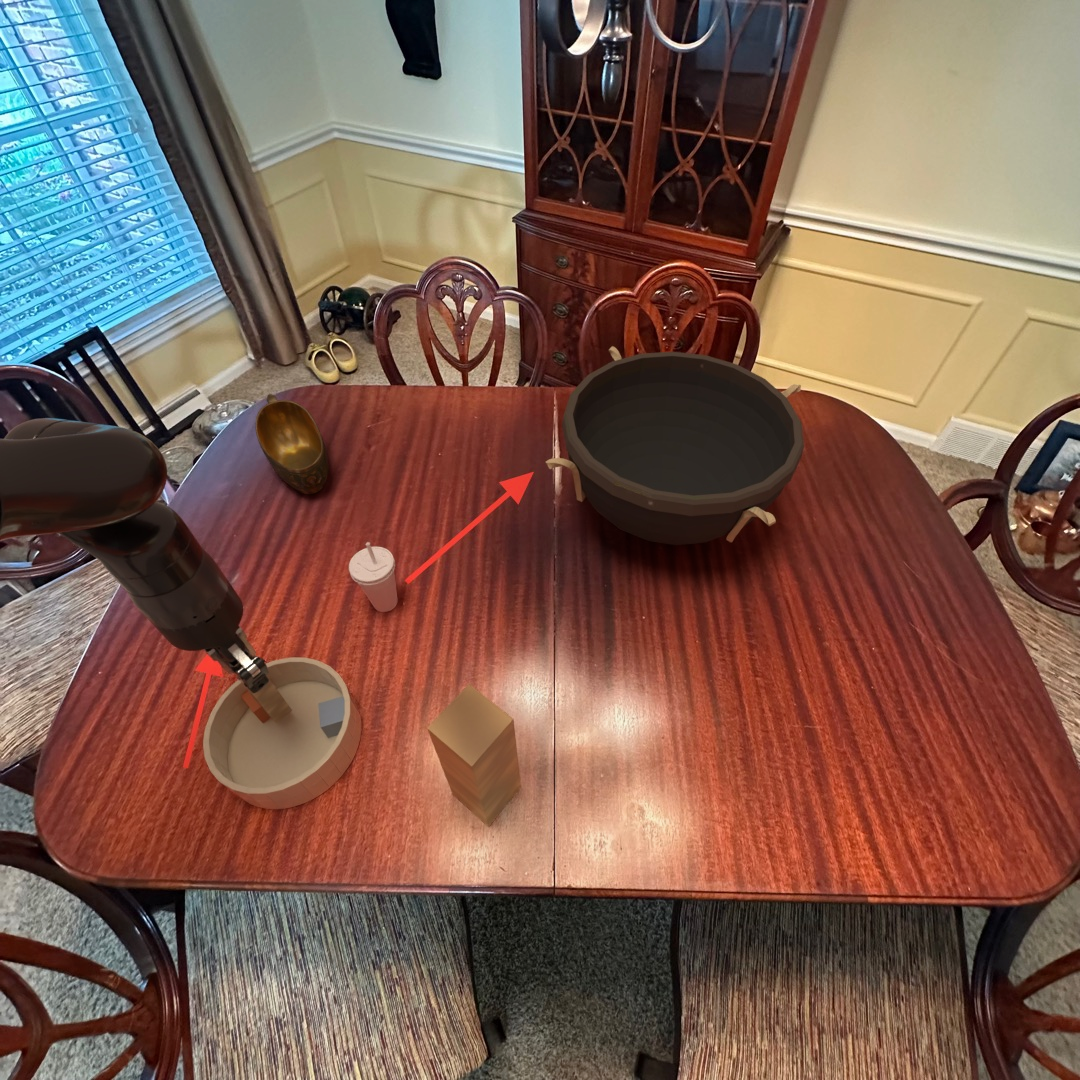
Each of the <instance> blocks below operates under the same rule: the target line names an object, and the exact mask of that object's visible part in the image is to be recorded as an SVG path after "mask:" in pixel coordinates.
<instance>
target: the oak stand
mask: <svg viewBox="0 0 1080 1080" xmlns="http://www.w3.org/2000/svg"><path fill="white" fill-rule="evenodd" d="M426 729H427V732H428V734H429V737H430V739H431V742H432V745H433V748H434V750H435V753H436V756H437V758H438V760H439V763H440V765H441V769H442V771H443V773H444V776H445V779H446V781H447V784H448V786H449V789H450V792H451V794H452V796H453V797H455V798H456V799H457V800H458V801H459V802H460V803H461V804H463V806H465V807H466V809H468V810H469V811H470V812H471V813H473V815H474V816H476V817H477V818H478V819H479V820H480V821H481V822H482V823H483V824H485V825H486V826H487V827H488V828H489V827H490V826H491V825H492V824H493V822H494V821H495V820H496V818H497V817H498V816H499V815H500V814H501V813H502V811H503V810H504V809H505V807H506V806H507V805H508V804H509V802H510V801H511V800H512V798H513V797H514V796H515V795H516V793H517V792H518V791H519V790H520V789H521V788H522V782H521V775H520V765H519V757H518V755H519V754H518V747H517V738H516V737H517V736H516V730H515V729H516V728H515V721H514V718H513V717H512V716H511V715H509V713H507V712H506V711H504V710H503V709H502V708H500V707H499V706H498V705H497V704H495V702H493V701H492V700H491V699H489V698H488V697H486V696H485V695H484V694H483V693H482V692H481V691H479V690H477V688H475V687H474V686H473V685H472V684H470V683H468V685H466V686H465V688H464V689H463V690H461V692H460V693H459V694H458V695H457V696H456V697H455V698H454V699H453V700H452V701H451V702H450V704H448V705H447V707H445V708H444V709H443V711H441V712H440V714H439V715H438V716H437V717H436V718H435V719H434V720H433V721H432V722H431V723H430V724H429V725H428V726H427V727H426Z"/></svg>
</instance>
